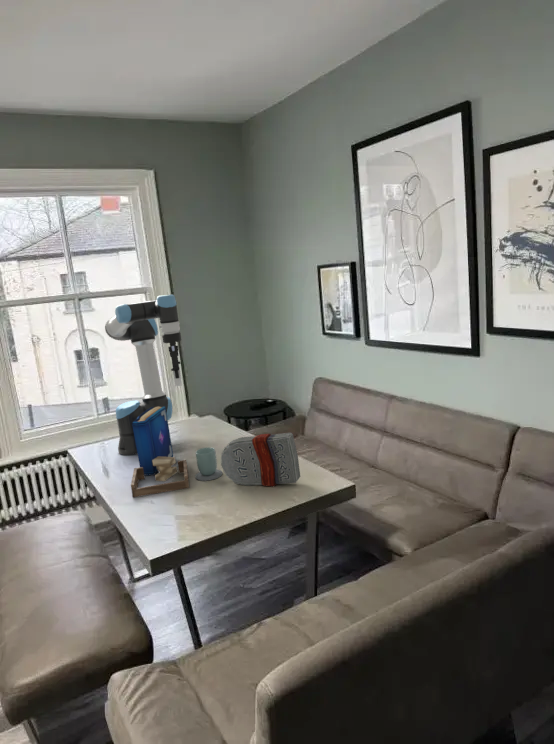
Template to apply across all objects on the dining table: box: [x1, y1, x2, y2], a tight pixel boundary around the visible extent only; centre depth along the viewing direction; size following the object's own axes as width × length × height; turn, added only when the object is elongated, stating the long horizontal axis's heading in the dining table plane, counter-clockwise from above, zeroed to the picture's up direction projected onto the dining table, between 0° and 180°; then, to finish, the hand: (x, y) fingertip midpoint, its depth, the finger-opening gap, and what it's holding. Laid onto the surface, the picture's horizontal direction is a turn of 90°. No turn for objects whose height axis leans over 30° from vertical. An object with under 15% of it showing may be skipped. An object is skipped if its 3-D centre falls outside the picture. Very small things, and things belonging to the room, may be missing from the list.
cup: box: [195, 447, 218, 476], centre depth 225 cm, size 8×8×10 cm
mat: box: [194, 468, 223, 482], centre depth 226 cm, size 11×11×1 cm
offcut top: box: [152, 456, 177, 467], centre depth 229 cm, size 4×8×3 cm, turn 66°
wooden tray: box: [130, 459, 190, 498], centre depth 222 cm, size 19×21×5 cm
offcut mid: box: [156, 466, 172, 475], centre depth 230 cm, size 4×9×3 cm, turn 24°
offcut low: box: [154, 466, 178, 482], centre depth 231 cm, size 4×10×3 cm, turn 160°
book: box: [132, 406, 175, 476], centre depth 240 cm, size 22×7×25 cm, turn 168°
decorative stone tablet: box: [220, 432, 301, 487], centre depth 210 cm, size 19×6×30 cm
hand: (178, 382), depth 233 cm, fingers open, 13 cm apart
